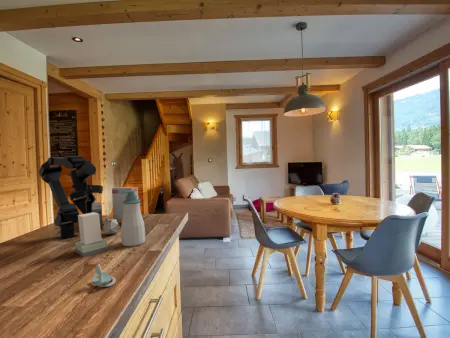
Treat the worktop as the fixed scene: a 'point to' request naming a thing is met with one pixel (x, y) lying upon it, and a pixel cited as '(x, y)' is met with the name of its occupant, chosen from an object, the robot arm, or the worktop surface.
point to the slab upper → (90, 246)
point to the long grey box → (98, 210)
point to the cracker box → (120, 201)
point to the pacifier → (102, 278)
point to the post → (89, 228)
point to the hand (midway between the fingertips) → (88, 215)
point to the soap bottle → (132, 221)
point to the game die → (111, 226)
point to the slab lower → (91, 251)
